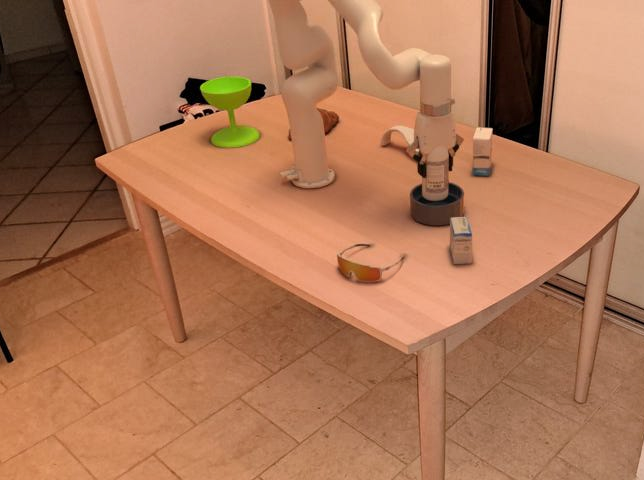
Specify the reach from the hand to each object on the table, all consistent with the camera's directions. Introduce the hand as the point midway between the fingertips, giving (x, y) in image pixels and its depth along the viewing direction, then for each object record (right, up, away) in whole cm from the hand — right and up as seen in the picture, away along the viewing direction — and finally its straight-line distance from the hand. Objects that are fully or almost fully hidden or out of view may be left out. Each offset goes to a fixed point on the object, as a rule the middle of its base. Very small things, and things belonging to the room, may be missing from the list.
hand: (435, 172), depth 183 cm
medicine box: (+6, -22, -11) cm, 25 cm away
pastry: (-39, +22, +55) cm, 71 cm away
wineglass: (-65, +19, +52) cm, 86 cm away
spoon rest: (-6, +11, +39) cm, 41 cm away
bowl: (+1, -10, +7) cm, 12 cm away
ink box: (+15, +4, +27) cm, 31 cm away
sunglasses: (-16, -24, -13) cm, 32 cm away
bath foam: (0, -6, +4) cm, 7 cm away
